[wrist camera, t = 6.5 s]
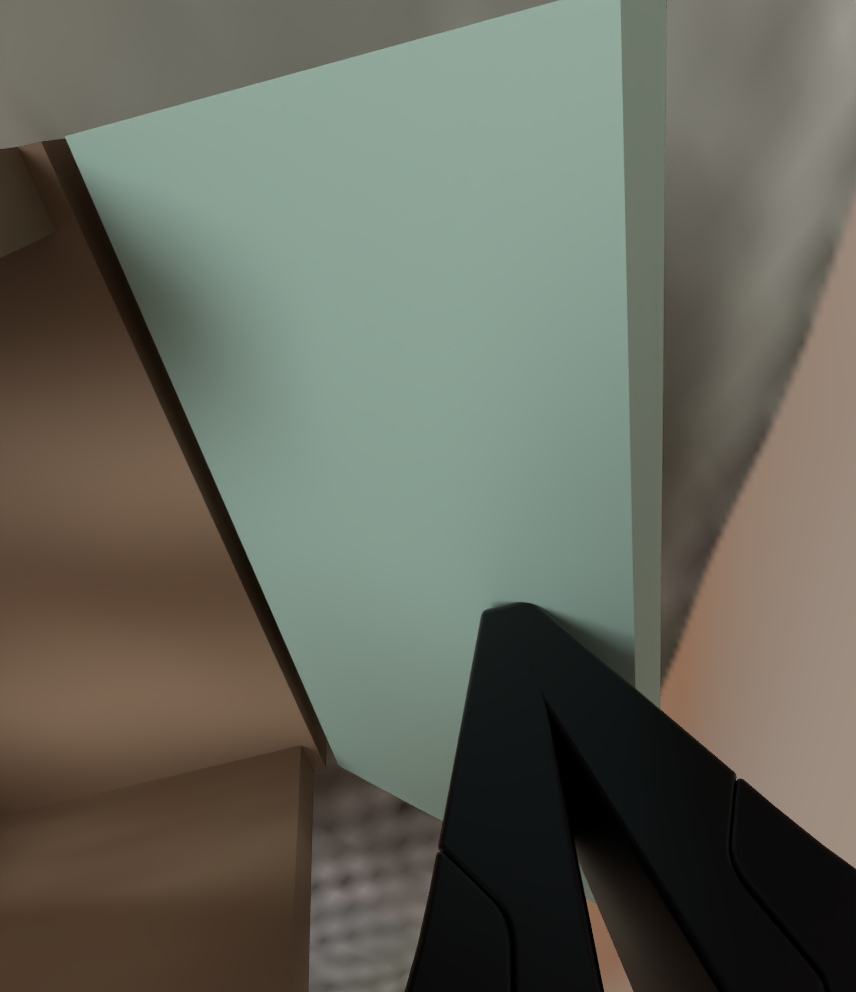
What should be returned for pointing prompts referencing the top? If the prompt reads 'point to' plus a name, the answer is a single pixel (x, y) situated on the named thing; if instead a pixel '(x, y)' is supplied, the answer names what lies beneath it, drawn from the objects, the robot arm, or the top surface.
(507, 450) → the panel
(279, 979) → the crate
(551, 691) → the robot arm
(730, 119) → the top surface
